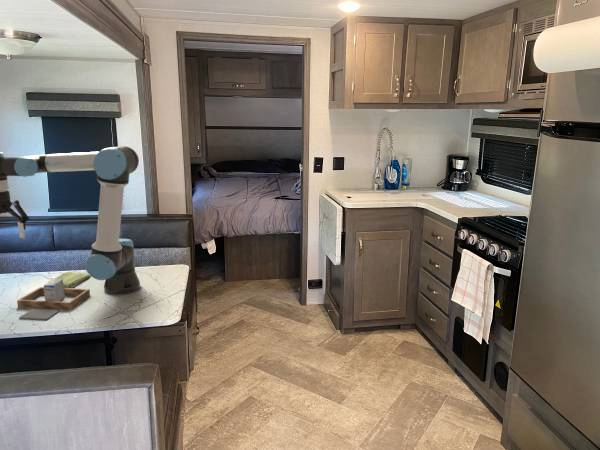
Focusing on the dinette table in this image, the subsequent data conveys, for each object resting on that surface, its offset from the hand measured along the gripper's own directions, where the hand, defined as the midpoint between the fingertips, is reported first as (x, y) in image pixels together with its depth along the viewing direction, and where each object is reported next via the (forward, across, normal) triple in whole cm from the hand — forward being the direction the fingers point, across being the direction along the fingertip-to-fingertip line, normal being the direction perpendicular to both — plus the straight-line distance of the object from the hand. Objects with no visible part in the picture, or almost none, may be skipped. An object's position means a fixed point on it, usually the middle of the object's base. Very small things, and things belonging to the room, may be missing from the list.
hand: (5, 241), depth 184 cm
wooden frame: (+25, -6, +19) cm, 32 cm away
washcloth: (+25, -23, +3) cm, 34 cm away
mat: (+25, +5, +26) cm, 37 cm away
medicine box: (+25, -6, +19) cm, 32 cm away
